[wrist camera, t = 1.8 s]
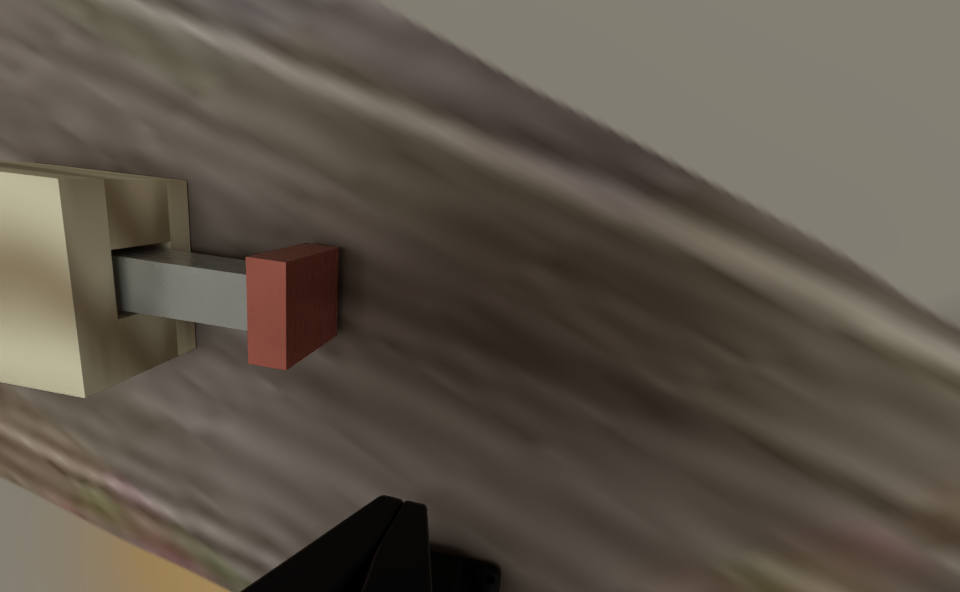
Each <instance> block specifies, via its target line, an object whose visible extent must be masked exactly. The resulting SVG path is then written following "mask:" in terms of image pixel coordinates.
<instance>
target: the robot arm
mask: <svg viewBox="0 0 960 592" xmlns="http://www.w3.org/2000/svg"><path fill="white" fill-rule="evenodd" d="M488 575H491V576H493V577H489V576H488ZM500 580H501V571H500V569H499V568H498V567H497V566H495V565H492V564H487V563H483V562H478V561H473V560H469V559H464V558H459V557H455V556H450V555H445V554H441V553H436V552H431V551H430V548H429V532H428V516H427V507H426V505H424V504H420V503H416V502H412V501H405V502H404V503H403V501H402V500H401V499H398V498H394V497H390V496H385V495H382V496H379V497H377V498H376V499H375V500H373V501H372V502H370V503H369V504H367V505H366V506H364V507H363V508H361V509H360V510H359V511H357V512H356V513H354V514H353V515H351V516H350V517H348V518H347V519H345V520H344V521H343V522H341V523H340V524H338V525H337V526H335V527H334V528H332V529H331V530H329V531H328V532H327V533H325V534H324V535H322V536H321V537H319V538H318V539H316V540H315V541H313V542H312V543H311V544H309V545H308V546H306V547H305V548H303V549H302V550H300V551H299V552H297V553H296V554H295V555H293V556H292V557H290V558H289V559H287V560H286V561H284V562H283V563H281V564H280V565H279V566H277V567H276V568H274V569H273V570H271V571H270V572H268V573H267V574H265V575H264V576H263V577H261V578H260V579H258V580H257V581H255V582H254V583H252V584H251V585H249V586H248V587H247V588H245V589H244V590H242V591H241V592H499V587H500Z"/></svg>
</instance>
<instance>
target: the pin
mask: <svg viewBox="0 0 960 592" xmlns="http://www.w3.org/2000/svg"><path fill="white" fill-rule="evenodd" d="M111 257H112V267H113V277H114V287H115V296H116V306H117V310H122V311H128V312H135V313H141V314H147V315H153V316H159V317H166V318H172V319H178V320H184V321H191V322H197V323H203V324H209V325H215V326H222V327H228V328H234V329H240V330H247V331H248V364H253V365H259V366H264V367H270V368H276V369H282V370H287V369H289V368H290V367H292V366H293V365H294V364H296V363H297V362H299V361H300V360H302V359H303V358H305V357H306V356H308V355H309V354H310V353H312V352H313V351H315V350H316V349H318V348H319V347H321V346H322V345H323V344H325V343H326V342H328V341H329V340H331V339H332V338H334V337H335V336H336V335H337V297H338V259H339V247H333V246H325V245H318V244H310V243H304V244H299V245H295V246H290V247H286V248H282V249H277V250H273V251H269V252H264V253H260V254H256V255H251V256H247V257H246V260H241V259H234V258H227V257H220V256H212V255H205V254H198V253H191V252H184V251H177V250H169V249H162V248H155V247H148V246H134V247H127V248H120V249H113V250H111Z"/></svg>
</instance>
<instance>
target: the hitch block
mask: <svg viewBox="0 0 960 592" xmlns="http://www.w3.org/2000/svg"><path fill="white" fill-rule="evenodd" d="M134 246H148V247H155V248H162V249H169V250H177V251H184V252H191V249H190V232H189V214H188V196H187V181H186V180H177V179H169V178H160V177H152V176H143V175H135V174H126V173H118V172H109V171H101V170H92V169H84V168H75V167H67V166H58V165H50V164H41V163H33V162H11V161H0V382H3V383H8V384H14V385H19V386H24V387H29V388H35V389H40V390H45V391H50V392H56V393H61V394H66V395H71V396H77V397H82V398H87V397H89V396H91V395H93V394H95V393H98V392H100V391H102V390H104V389H106V388H109V387H111V386H113V385H115V384H117V383H120V382H122V381H124V380H126V379H128V378H131V377H133V376H135V375H137V374H140V373H142V372H144V371H146V370H148V369H151V368H153V367H155V366H157V365H159V364H162V363H164V362H166V361H168V360H170V359H173V358H175V357H177V356H179V355H181V354H184V353H186V352H188V351H190V350H193V349H195V348H196V339H195V322H191V321H184V320H178V319H172V318H166V317H159V316H153V315H147V314H141V313H135V312H128V311H122V310H117V306H116V296H115V287H114V277H113V267H112V257H111V250H113V249H120V248H127V247H134Z"/></svg>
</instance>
